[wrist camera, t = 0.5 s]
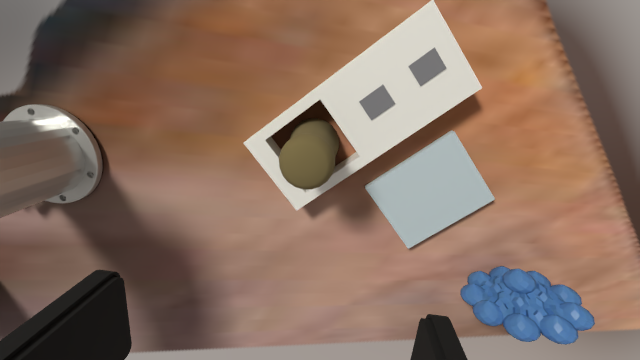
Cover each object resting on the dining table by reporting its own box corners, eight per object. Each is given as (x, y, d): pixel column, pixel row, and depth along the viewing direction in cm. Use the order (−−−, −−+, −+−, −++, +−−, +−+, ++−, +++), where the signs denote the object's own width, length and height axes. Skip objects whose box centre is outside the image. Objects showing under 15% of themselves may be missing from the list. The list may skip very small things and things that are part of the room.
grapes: (540, 234, 39) (624, 296, 28) (541, 279, 41) (620, 354, 30) (447, 249, 40) (490, 314, 29) (452, 292, 42) (494, 369, 31)
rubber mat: (406, 244, 41) (408, 248, 40) (364, 185, 38) (365, 188, 38) (491, 196, 38) (495, 199, 37) (451, 130, 36) (454, 131, 35)
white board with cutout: (299, 201, 40) (296, 210, 37) (250, 138, 37) (243, 142, 34) (470, 87, 34) (482, 87, 31) (424, 6, 32) (433, -1, 29)
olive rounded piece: (349, 143, 37) (354, 166, 26) (315, 177, 38) (306, 211, 28) (313, 107, 36) (303, 116, 25) (279, 143, 37) (256, 166, 27)
